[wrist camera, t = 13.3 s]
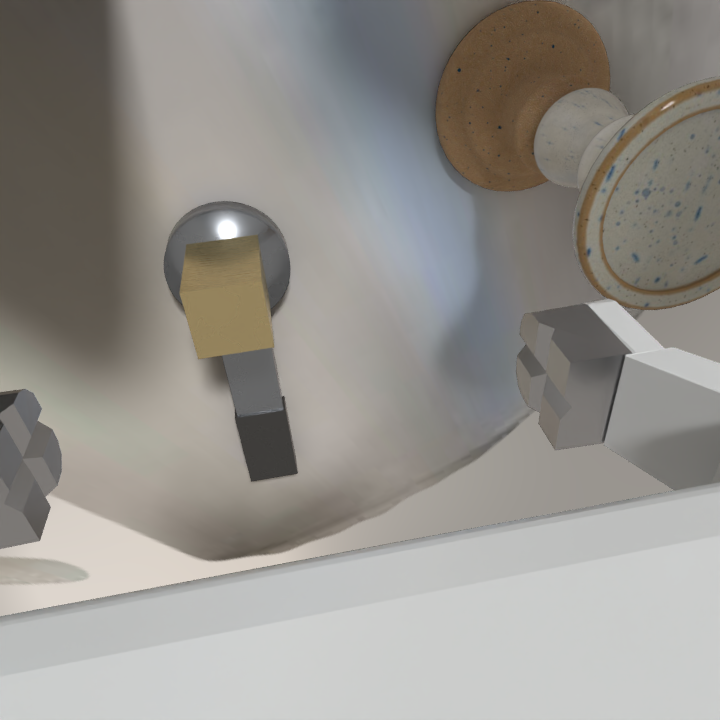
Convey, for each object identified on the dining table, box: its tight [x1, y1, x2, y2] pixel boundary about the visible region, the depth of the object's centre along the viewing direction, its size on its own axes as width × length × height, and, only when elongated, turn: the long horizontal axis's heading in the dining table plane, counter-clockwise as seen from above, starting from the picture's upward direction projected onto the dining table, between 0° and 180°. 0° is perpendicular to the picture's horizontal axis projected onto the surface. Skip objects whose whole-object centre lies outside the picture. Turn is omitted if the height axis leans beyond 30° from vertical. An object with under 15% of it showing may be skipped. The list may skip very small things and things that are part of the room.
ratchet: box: [164, 201, 298, 481], centre depth 49 cm, size 26×9×5 cm, turn 4°
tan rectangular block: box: [180, 235, 274, 359], centre depth 41 cm, size 5×5×7 cm
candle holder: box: [435, 0, 720, 310], centre depth 34 cm, size 12×12×20 cm
